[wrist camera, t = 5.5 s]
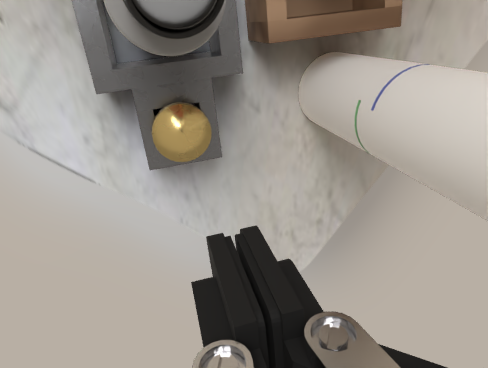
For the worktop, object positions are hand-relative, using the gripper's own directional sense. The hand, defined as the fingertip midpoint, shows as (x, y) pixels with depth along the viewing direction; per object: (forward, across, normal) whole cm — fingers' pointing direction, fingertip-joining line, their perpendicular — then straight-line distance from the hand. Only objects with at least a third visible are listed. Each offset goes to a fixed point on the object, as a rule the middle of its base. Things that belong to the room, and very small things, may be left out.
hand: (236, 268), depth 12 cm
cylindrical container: (+25, -15, 0) cm, 29 cm away
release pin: (+23, 0, 0) cm, 23 cm away
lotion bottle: (+25, 0, -9) cm, 26 cm away
